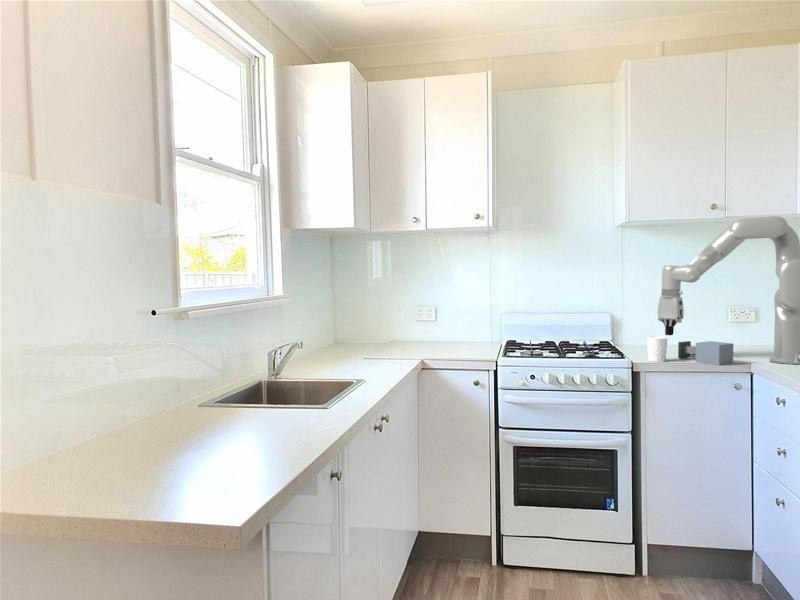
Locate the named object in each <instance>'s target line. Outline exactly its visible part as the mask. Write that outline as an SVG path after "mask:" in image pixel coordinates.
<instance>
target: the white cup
mask: <svg viewBox="0 0 800 600" xmlns="http://www.w3.org/2000/svg"><path fill="white" fill-rule="evenodd" d="M646 341H647V343H646V346H647V348H646V349H647V356H648V357H647V358H648V362H654V363H663V362H664V363H665V362H666V360H667V348H668V337H666V336H660V335H659V336H656V335H655V336H654V335H653V336H650V335H649V336H647V337H646Z"/></svg>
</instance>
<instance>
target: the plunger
mask: <svg viewBox="0 0 800 600" xmlns="http://www.w3.org/2000/svg"><path fill="white" fill-rule="evenodd" d="M677 349H678V350H677V353H678V355H677V359H681V360H682V359H689V358H688V357H690V358H692V357H691V356H693V355H696V345H695V346H694V345H692V341H689V340H685V341H678V345H677Z"/></svg>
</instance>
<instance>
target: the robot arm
mask: <svg viewBox="0 0 800 600" xmlns="http://www.w3.org/2000/svg"><path fill="white" fill-rule="evenodd" d="M749 239H750V240H752V239H753V240H754V239H769V240H771V241H772V242H773V245H774V247H775V274H776V277H777V278H778V281H779V283H778V284H779V288H778V289H777V290H776V292H775V293H774V297H773V298H774V299H773V301H774V334H773V335H774V341H773V342H774V343H773V344H774V347H773V357H770V358H769V362H772V363H776V364H785V365H787V364H788V365H789V364H790V365H800V239H799V235H798V233H797V232H796V231H795V229H793V227H791V225H789V224H788V222H787V220H786V219H785V218H784V217H781V216H777V215H775V216H773V215H772V216H762V217H760V216H759V217H747V218H739V219H738V218H737V219H736V220H735V221H733V222H732V223H731V224H730V225H729V226H727V228H725V229H724V230H723V231H722V232H721V233H720V234H719V235H717V237H715V238H714V239H713V240H712V241H711V242H709V243H708V245H707V246H706V247H704V249H703V250H702V251H701V252H700V253H699V254H697V256H696V257H694V258H693V259H692V260H691V261H690V262H689V263H688V264H686V265H664V266H663V267H662V273H661V293H660V294H661V295H660V296H659V299H658V305H657V318H658V319H657V320H658V321H659V322H662V324H663V326H664V327H665V328H664V335H665V336H673V335H674V331H675V330H674V329H675V326H676V324H679V323H682V322H683V321H682V320H683V319H684V317H685V316H684V315H685V314H684V313H685V311H684V310H685V309H684V301H683V297H682V296H681V295H683V291H682V290H681V287H682V286H681V284H682V283H681V282H684V283H689V284H691V283H696V282H697V281H699V280H700V279H701V277H702V275H704V274H705V273H707V271H709V269H711V268H713V266H714V265H716V264H717V263H719V262H721V261H723V260H724V259H725V258H727V257H728V256H729V255H730V254H731V253H732V252H733V251H734V250H736V249H737V248H738V247H739V246H740V245H741V244H742V243H743V242H745V241H746V240H749Z"/></svg>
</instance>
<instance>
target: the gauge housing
mask: <svg viewBox="0 0 800 600" xmlns="http://www.w3.org/2000/svg"><path fill="white" fill-rule="evenodd" d="M695 346H696V355H693V356H694V357H696V358H695V363H701V364H707V365H708V364H709V365H713V366H714V365H715V366H722V365H729V364H733V363H734V343H731V342H720V341H713V340H712V341H711V340H708V341H701V342H696V343H695ZM694 357H693V358H694Z"/></svg>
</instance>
